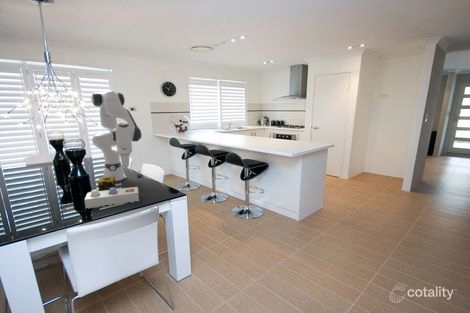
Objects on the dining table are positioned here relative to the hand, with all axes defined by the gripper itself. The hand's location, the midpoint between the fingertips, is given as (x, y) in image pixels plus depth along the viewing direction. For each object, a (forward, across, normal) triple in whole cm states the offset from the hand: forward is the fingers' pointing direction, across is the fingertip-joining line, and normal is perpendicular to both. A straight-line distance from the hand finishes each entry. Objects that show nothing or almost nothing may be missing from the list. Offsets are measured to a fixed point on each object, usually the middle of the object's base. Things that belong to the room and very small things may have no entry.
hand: (126, 169), depth 153 cm
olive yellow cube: (+21, -18, -14) cm, 31 cm away
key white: (+17, +2, -19) cm, 25 cm away
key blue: (+16, +2, -9) cm, 19 cm away
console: (+20, +2, -9) cm, 22 cm away
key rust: (+19, +3, +1) cm, 19 cm away
